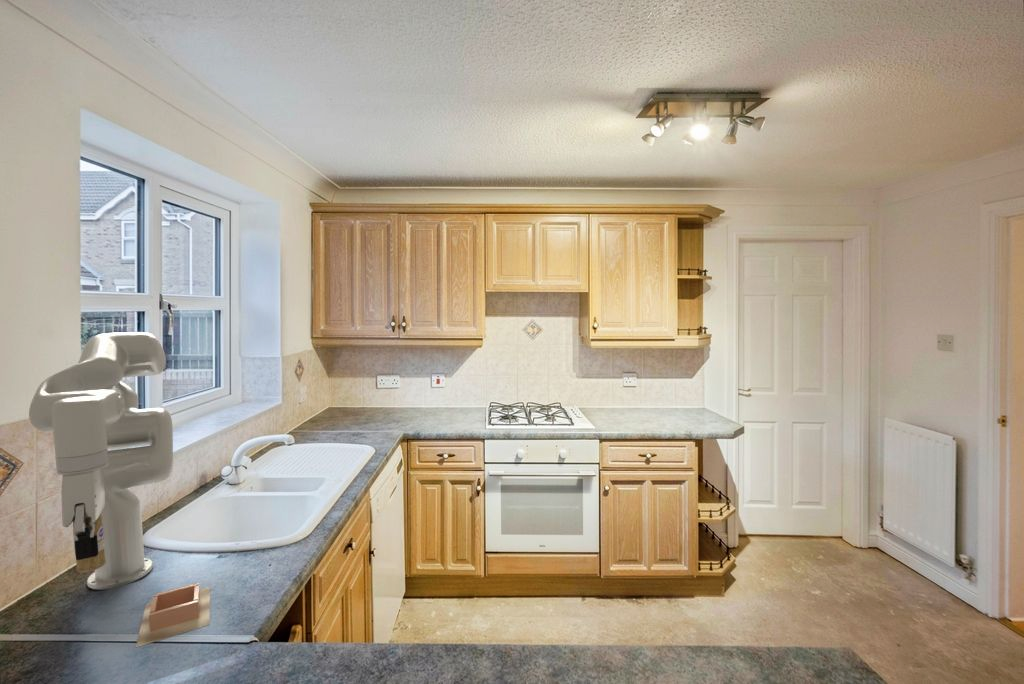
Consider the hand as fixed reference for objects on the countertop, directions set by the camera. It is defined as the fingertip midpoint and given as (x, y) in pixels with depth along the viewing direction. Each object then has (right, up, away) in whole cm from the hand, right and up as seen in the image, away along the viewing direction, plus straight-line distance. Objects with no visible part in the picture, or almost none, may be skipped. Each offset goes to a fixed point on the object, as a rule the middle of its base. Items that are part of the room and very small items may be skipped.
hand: (90, 550), depth 93 cm
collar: (+11, -17, +8) cm, 22 cm away
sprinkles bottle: (0, -4, 0) cm, 4 cm away
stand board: (+11, -18, +8) cm, 23 cm away
